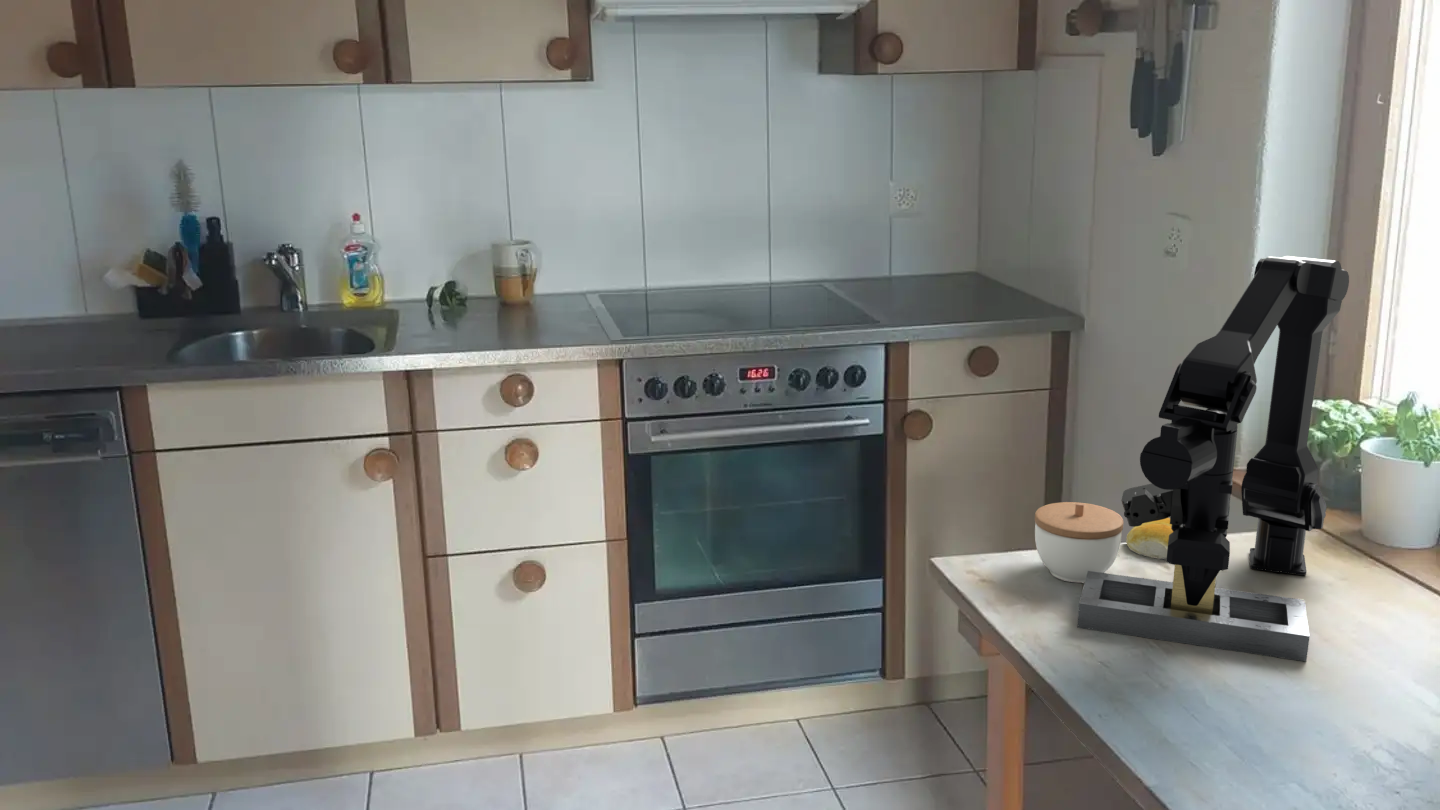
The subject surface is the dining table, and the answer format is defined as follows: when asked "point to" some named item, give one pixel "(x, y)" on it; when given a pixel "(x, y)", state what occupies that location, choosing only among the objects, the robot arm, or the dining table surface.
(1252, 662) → the dining table surface
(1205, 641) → the grey slotted tray
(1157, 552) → the bread roll
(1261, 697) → the dining table surface
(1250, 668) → the dining table surface
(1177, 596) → the brass block
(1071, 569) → the lidded jar
